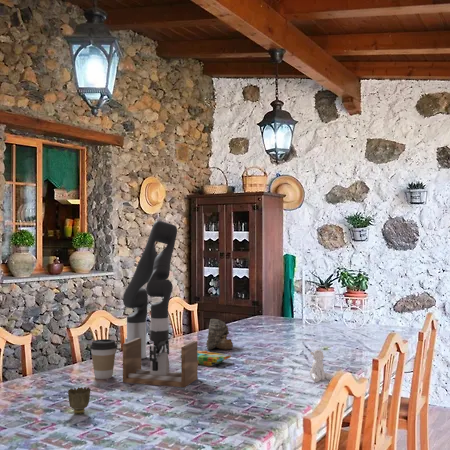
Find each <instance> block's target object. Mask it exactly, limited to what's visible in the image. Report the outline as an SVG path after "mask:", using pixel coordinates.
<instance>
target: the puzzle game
mask: <svg viewBox="0 0 450 450" xmlns="http://www.w3.org/2000/svg"><path fill="white" fill-rule="evenodd" d="M228 359H231V354H226V353H218V352H211V351H208V350H198V349H197V360H198V365H201V366H208V367H213V366H215V365H218V364H220V363H223V362H224V361H225V360H228Z"/></svg>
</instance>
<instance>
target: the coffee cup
mask: <svg viewBox="0 0 450 450" xmlns="http://www.w3.org/2000/svg"><path fill="white" fill-rule="evenodd" d="M117 348H118V344H117V343H116V341H115V340H114V339H107V338H105V339H95V340H92V342H91V344H90V345H89V349H90V352H91V359H92V366H93V368H92V369H93V374H94V375H93V376H94V379H97V380H108V379H111V378H113V374H114V367H115V359H116V352H117Z"/></svg>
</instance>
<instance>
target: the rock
mask: <svg viewBox="0 0 450 450" xmlns="http://www.w3.org/2000/svg"><path fill="white" fill-rule="evenodd" d="M207 333H208V334H207V340H206V343H205V345H206V349H207V351H208V350H209V351H210V350H211V351H212V350H213V349H215V348H217V349H220V350H225V351H226V350H231V349H232V348H233V346H234V344H233V342H232V339H230V338H229V339H227V338H228V335H230V331H229V325H227V324H226V322H225V321H223V320H221V319H218V318H210V320H209V325H208V332H207Z"/></svg>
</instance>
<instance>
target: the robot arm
mask: <svg viewBox="0 0 450 450" xmlns="http://www.w3.org/2000/svg"><path fill="white" fill-rule="evenodd" d="M177 237H178V228H177V226H176V225H175V224H172V223H169V222H164V221H162V220H156V221H154V223H153V225H152V227H151V230H150V233H149V236H148V239H147V241H146V245H145V247H144V249H143V252H142V254H141V256H140V259H139V261H138V262H137V266H136V268H135V271H134V273H133V276H132V277H131V279H130V281H129V283H128V285H127V286H126V288H125V290H124V294H123V296H122V303H123V306H124V307H125V308H127V309H135V308H136V309H135V310H134V312H132V313H130V314H128V315H127V316H126V337H125V338H124V343H126V342H128V341H131V340H134V339H136V338H141V360H142V359H145V358H147V317H148V301H149V297H152V298H163V299H162V300H161V301H158V302H153V303H151V304H150V321H149V322H150V324H149V325H150V326H149V327H150V328H149V329H150V330H149V331H150V333H149V335H150V336H149V337H150V338H149V340H150V341H151V342H153V345H150V346H149V360H148V361H150V362H151V361H152V370H153V371H158V359H159V357H160V356H161V353H168V356H169V355H170V341H169V340H170V339H169V338H170V333H169V331H170V330H169V329H170V327H169V325H170V323H169V322H170V321H169V306H170V305H169V304H170V299H171V295H172V292H173V283H172V281H171V280H170V279H169V278H170V271H171V260H172V258H173V257H172V256H173V254H174V249H175V245H176V241H177ZM157 242H158V243H161V244H165V245H166V247H164V249H163V250H162V251H160V252H159V253H157V250H156V243H157ZM145 285H146V287H145V288H143V287H144V286H145Z"/></svg>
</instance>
